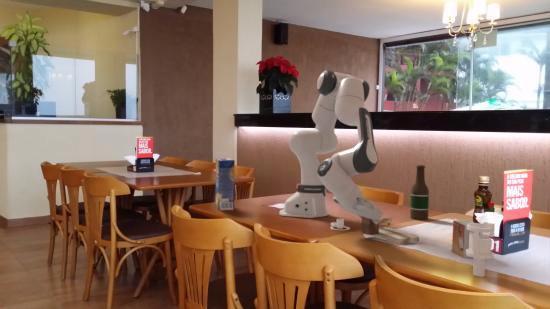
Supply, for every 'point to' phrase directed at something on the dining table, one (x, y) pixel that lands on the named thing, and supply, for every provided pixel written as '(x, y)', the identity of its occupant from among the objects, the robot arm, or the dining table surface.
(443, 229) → the dining table surface
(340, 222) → the white curved piece
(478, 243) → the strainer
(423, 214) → the beer bottle
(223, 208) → the juice carton
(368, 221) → the block
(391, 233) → the ash board
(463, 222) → the small box
